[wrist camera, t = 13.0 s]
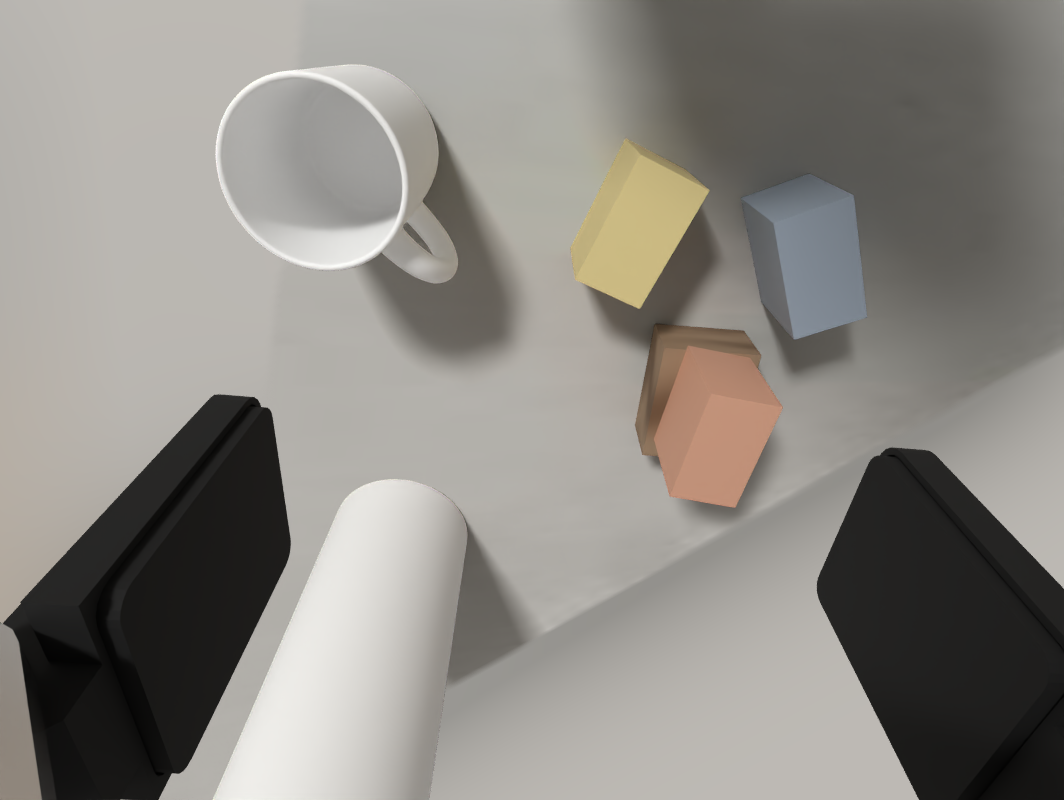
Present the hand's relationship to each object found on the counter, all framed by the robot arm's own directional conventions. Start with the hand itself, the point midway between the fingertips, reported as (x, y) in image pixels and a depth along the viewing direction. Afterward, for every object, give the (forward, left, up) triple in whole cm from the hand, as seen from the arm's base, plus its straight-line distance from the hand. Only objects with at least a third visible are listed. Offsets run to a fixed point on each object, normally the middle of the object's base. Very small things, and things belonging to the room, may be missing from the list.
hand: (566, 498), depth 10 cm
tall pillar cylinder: (+29, -9, -31) cm, 43 cm away
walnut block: (+13, +11, -31) cm, 35 cm away
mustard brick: (+2, +5, -30) cm, 31 cm away
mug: (+1, -9, -31) cm, 32 cm away
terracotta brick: (+13, +11, -27) cm, 31 cm away
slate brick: (+3, +15, -30) cm, 34 cm away
